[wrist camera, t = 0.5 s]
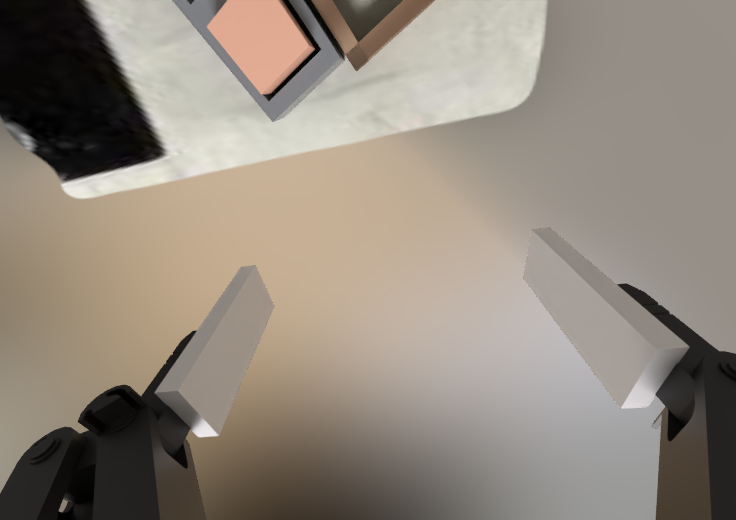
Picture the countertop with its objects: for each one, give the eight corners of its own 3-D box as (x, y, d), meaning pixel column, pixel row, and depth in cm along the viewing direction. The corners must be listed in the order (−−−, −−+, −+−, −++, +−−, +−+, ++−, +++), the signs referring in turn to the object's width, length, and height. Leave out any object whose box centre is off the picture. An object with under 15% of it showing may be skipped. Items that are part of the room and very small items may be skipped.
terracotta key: (223, 32, 26) (206, 26, 23) (267, -22, 24) (254, -35, 21) (271, 93, 28) (261, 94, 26) (315, 49, 26) (309, 45, 24)
